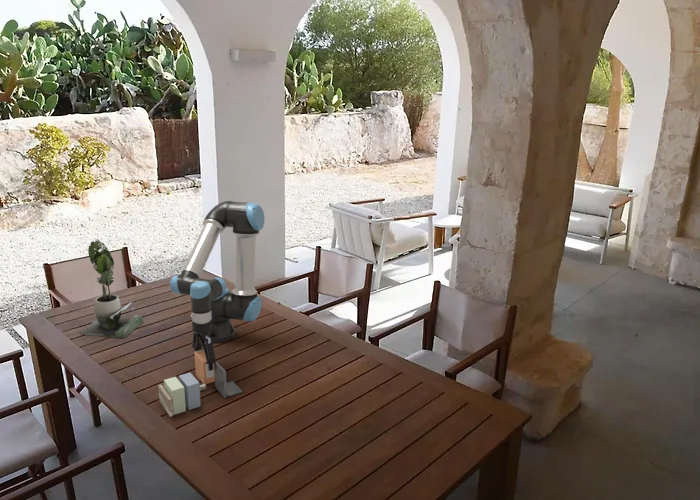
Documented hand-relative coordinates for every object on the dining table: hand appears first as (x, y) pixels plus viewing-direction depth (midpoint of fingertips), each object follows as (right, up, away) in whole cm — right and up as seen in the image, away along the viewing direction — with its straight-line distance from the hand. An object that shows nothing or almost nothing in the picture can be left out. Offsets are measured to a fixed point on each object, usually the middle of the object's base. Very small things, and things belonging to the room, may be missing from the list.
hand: (204, 371), depth 232 cm
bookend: (+11, -6, -6) cm, 14 cm away
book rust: (0, -3, +2) cm, 4 cm away
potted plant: (-56, +11, +44) cm, 72 cm away
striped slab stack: (-2, -9, -14) cm, 17 cm away
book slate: (-2, -9, -15) cm, 17 cm away
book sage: (-6, -10, -18) cm, 21 cm away
